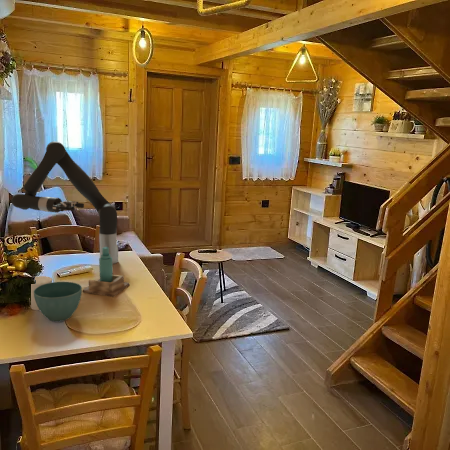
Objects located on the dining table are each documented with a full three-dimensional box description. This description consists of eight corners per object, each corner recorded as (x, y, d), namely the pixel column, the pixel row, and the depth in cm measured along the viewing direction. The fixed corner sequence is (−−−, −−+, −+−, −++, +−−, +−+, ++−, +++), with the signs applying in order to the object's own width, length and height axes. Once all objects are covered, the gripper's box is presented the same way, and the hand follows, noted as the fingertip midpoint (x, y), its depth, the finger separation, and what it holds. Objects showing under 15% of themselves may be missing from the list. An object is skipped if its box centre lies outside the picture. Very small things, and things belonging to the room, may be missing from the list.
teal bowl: (25, 320, 183) (23, 291, 180) (60, 305, 198) (59, 278, 196) (57, 331, 175) (56, 301, 172) (92, 314, 190) (91, 286, 188)
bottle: (106, 283, 223) (106, 245, 219) (115, 285, 220) (114, 247, 216) (97, 286, 218) (96, 248, 214) (105, 289, 215) (105, 250, 211)
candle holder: (48, 311, 191) (46, 284, 189) (24, 310, 191) (23, 283, 189) (56, 302, 201) (55, 276, 198) (34, 301, 201) (33, 275, 198)
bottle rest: (82, 292, 214) (82, 281, 212) (100, 281, 229) (99, 271, 228) (114, 296, 210) (113, 285, 209) (129, 285, 225) (129, 275, 224)
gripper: (41, 199, 223) (70, 202, 219) (58, 195, 236) (86, 197, 233) (41, 214, 225) (71, 217, 221) (58, 209, 238) (86, 212, 234)
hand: (78, 207), depth 227 cm, fingers open, 8 cm apart
